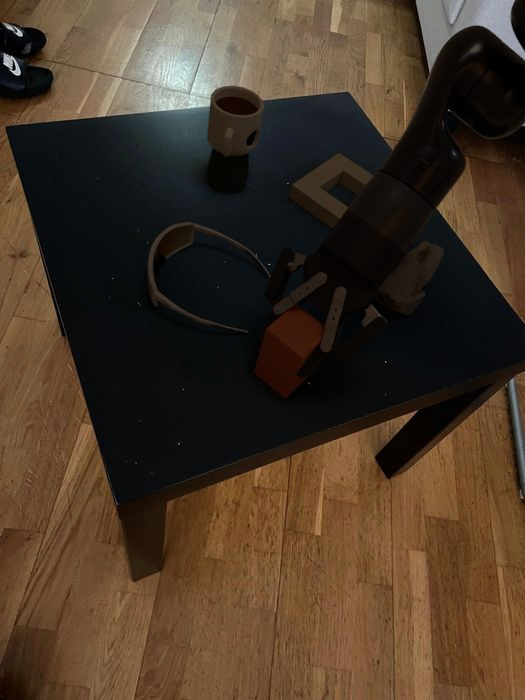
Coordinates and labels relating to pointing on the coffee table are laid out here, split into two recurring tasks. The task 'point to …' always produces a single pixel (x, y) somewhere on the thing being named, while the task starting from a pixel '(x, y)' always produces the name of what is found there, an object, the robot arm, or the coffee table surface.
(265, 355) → the post
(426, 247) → the sculpture
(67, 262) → the coffee table surface
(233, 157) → the character mug
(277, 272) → the robot arm
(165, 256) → the sunglasses
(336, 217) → the base pad
